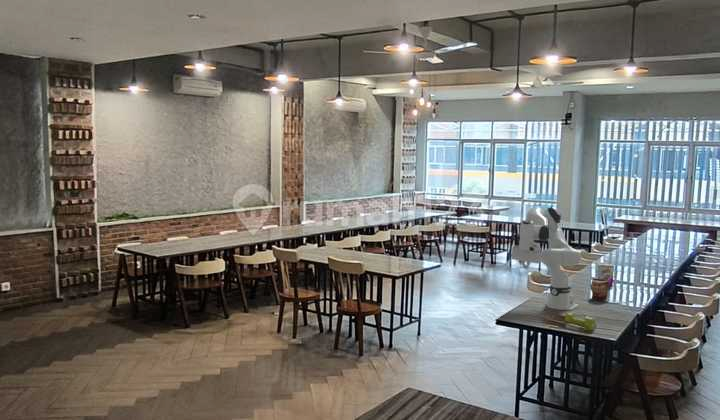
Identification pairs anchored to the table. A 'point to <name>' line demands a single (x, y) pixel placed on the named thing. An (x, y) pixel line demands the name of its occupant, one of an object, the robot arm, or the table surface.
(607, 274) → the candy bar box
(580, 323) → the dumbbell
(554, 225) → the robot arm
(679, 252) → the table surface
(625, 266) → the table surface
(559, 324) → the beam slot
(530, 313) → the table surface
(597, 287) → the decorative planter
